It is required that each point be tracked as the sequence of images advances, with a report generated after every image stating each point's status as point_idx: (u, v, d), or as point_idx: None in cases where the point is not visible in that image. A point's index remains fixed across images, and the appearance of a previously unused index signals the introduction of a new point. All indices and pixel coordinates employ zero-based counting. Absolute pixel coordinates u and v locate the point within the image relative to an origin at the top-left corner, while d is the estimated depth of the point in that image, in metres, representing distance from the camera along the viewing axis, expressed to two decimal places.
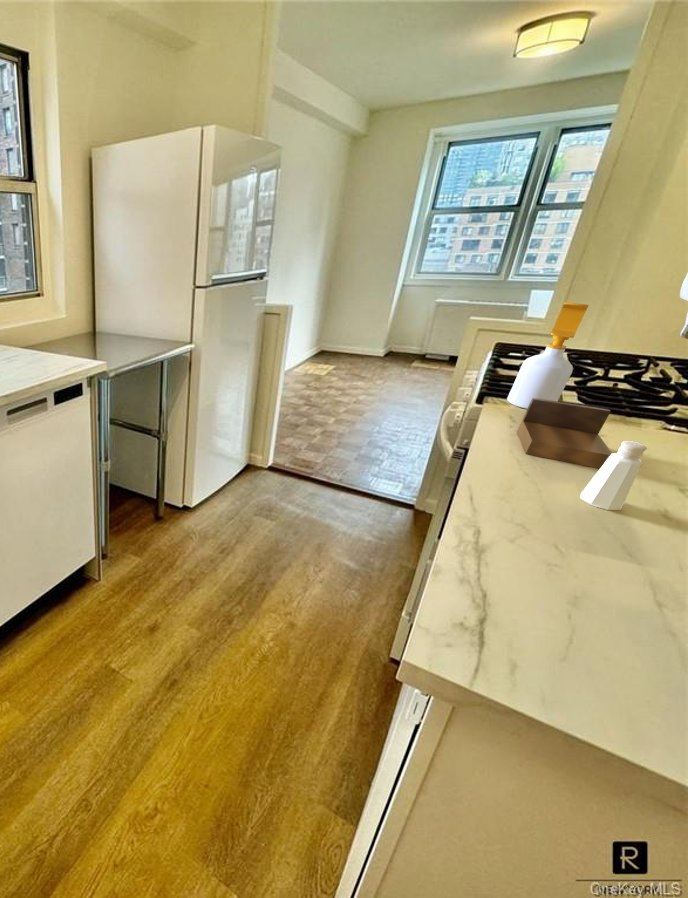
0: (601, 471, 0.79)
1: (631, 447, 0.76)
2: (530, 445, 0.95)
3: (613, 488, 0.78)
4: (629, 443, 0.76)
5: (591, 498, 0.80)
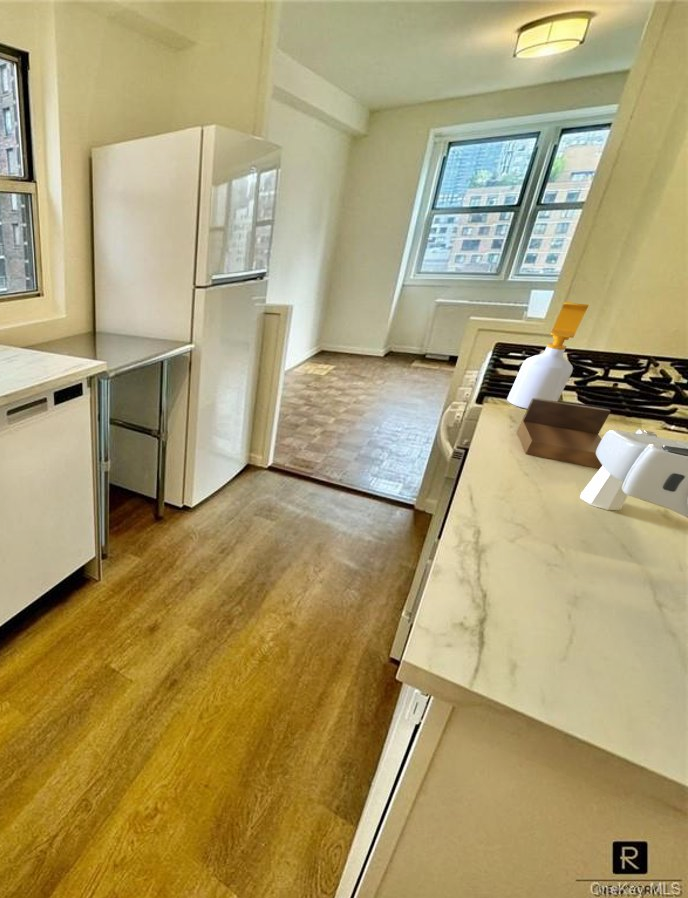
0: (601, 471, 0.79)
1: None
2: (530, 445, 0.95)
3: (613, 488, 0.78)
4: None
5: (591, 498, 0.80)
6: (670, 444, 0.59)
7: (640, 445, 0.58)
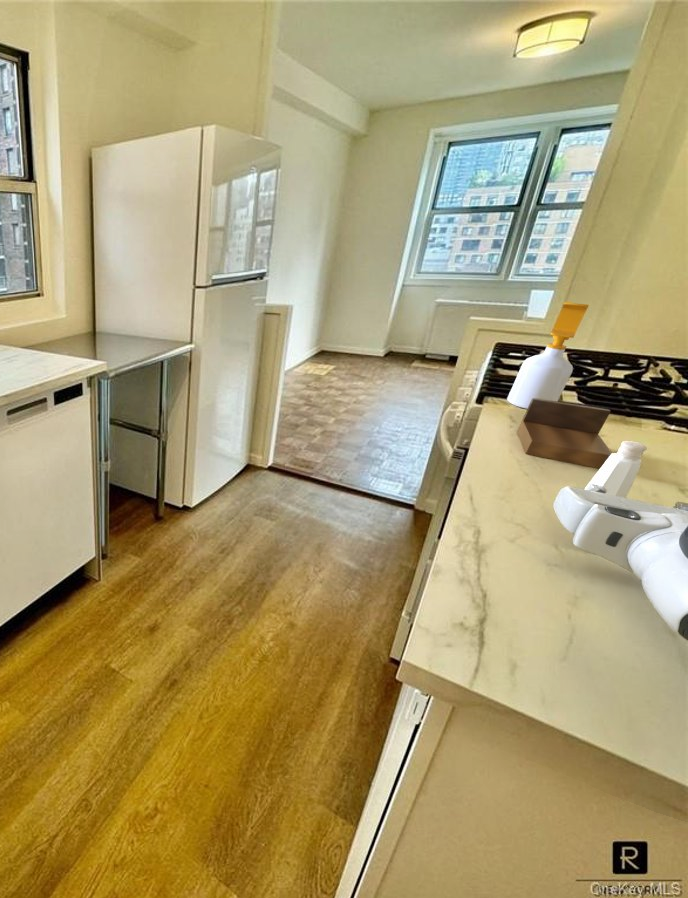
0: (601, 471, 0.79)
1: (631, 447, 0.76)
2: (530, 445, 0.95)
3: (613, 488, 0.78)
4: (629, 443, 0.76)
5: None
6: (615, 501, 0.68)
7: (587, 504, 0.66)
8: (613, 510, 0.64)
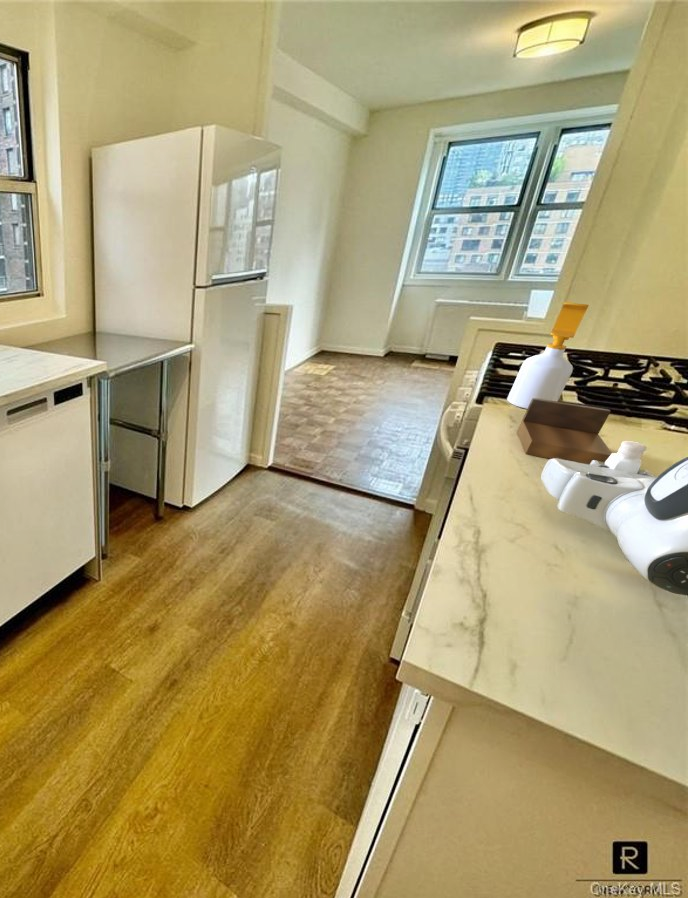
0: None
1: (631, 447, 0.76)
2: (530, 445, 0.95)
3: None
4: (629, 443, 0.76)
5: None
6: (596, 470, 0.75)
7: (570, 472, 0.73)
8: (593, 476, 0.71)
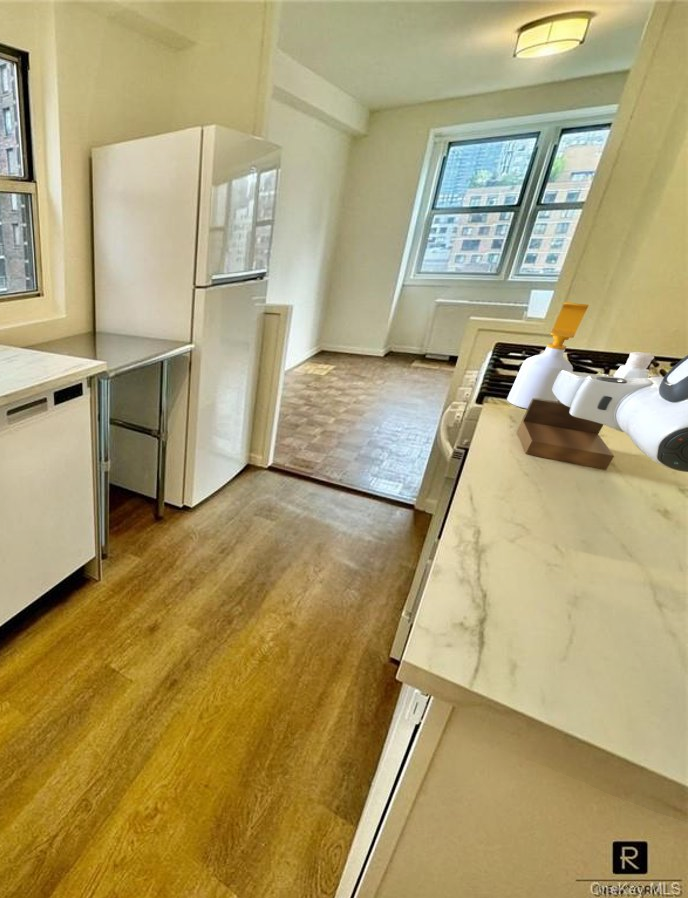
0: None
1: (639, 356, 0.79)
2: (530, 445, 0.95)
3: None
4: (637, 353, 0.80)
5: None
6: None
7: (581, 377, 0.77)
8: (603, 378, 0.74)
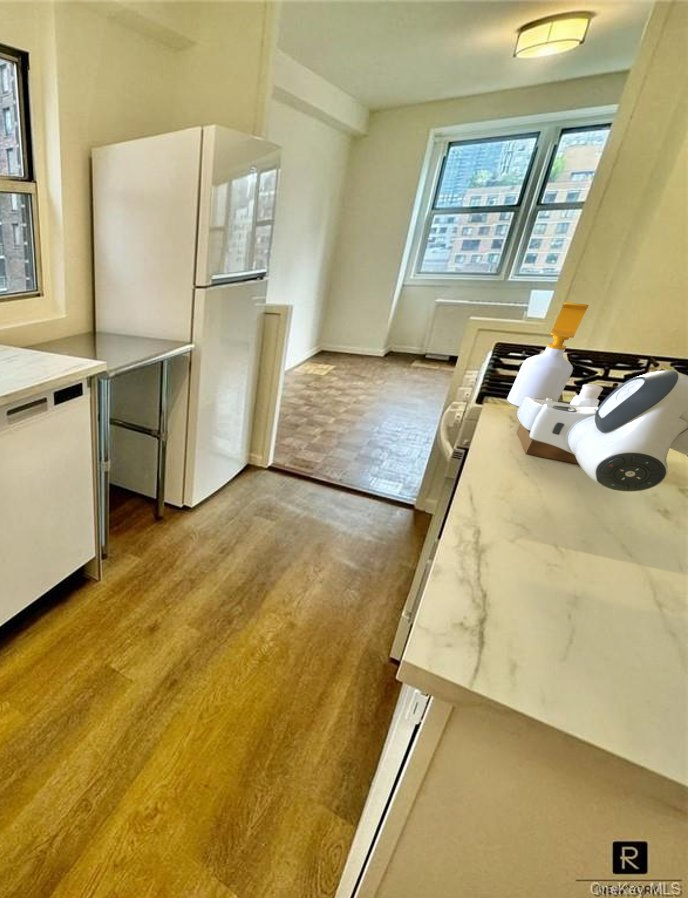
0: None
1: (590, 388, 0.90)
2: (530, 445, 0.95)
3: None
4: (589, 385, 0.91)
5: None
6: (562, 405, 0.89)
7: (540, 405, 0.88)
8: (557, 407, 0.85)
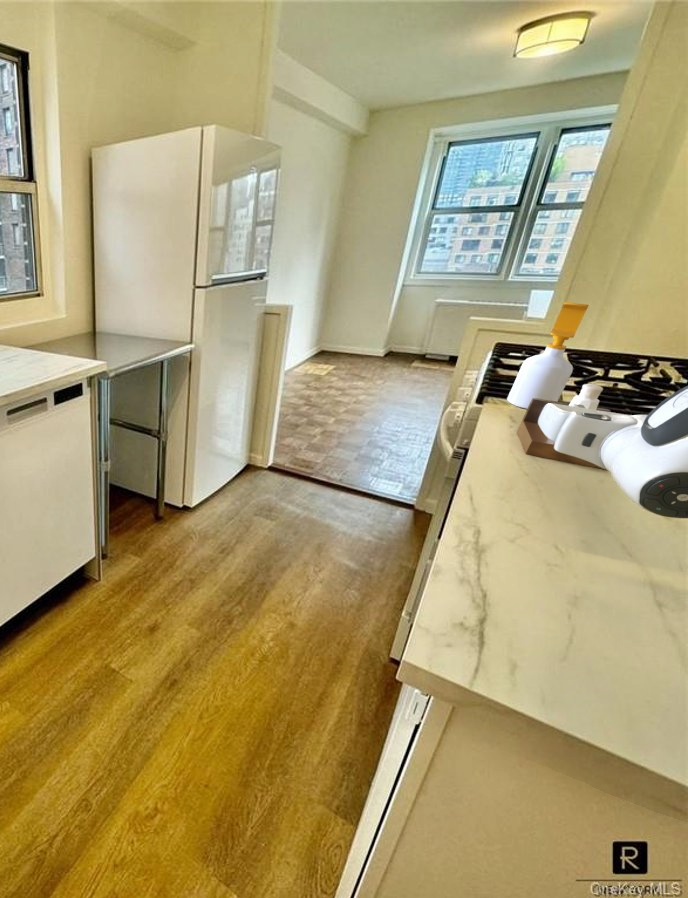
0: None
1: (590, 388, 0.90)
2: (530, 445, 0.95)
3: None
4: (589, 385, 0.91)
5: None
6: (591, 412, 0.77)
7: (566, 412, 0.75)
8: (588, 415, 0.73)
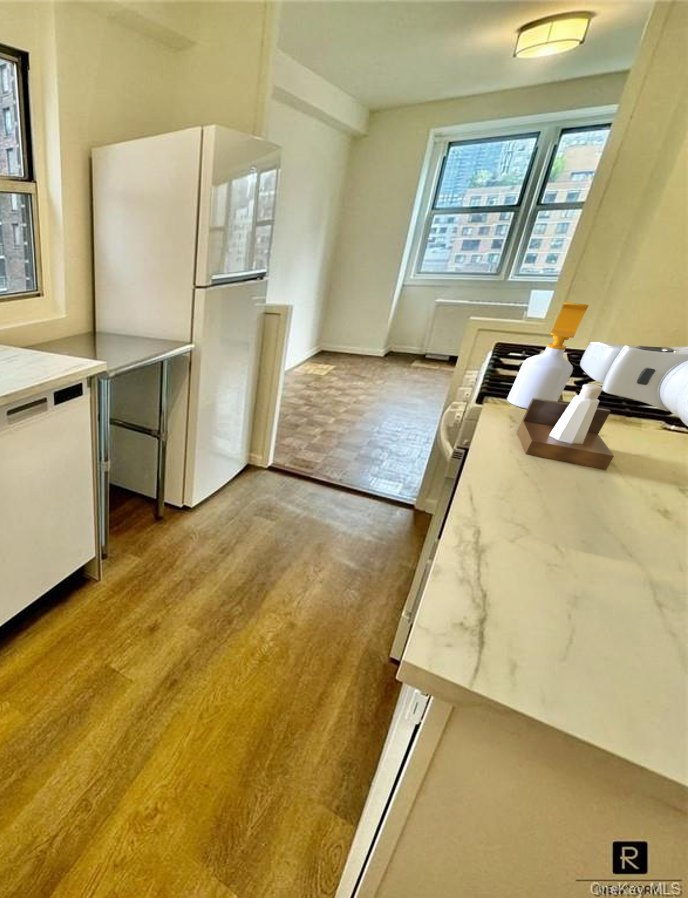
0: (566, 411, 0.94)
1: (590, 388, 0.90)
2: (530, 445, 0.95)
3: (576, 424, 0.92)
4: (589, 385, 0.91)
5: (558, 434, 0.95)
6: None
7: (617, 348, 0.65)
8: (645, 347, 0.63)
